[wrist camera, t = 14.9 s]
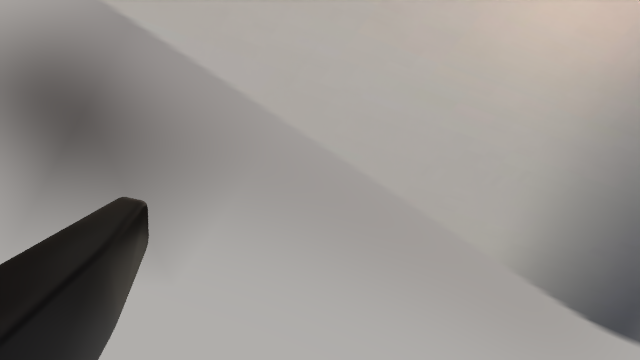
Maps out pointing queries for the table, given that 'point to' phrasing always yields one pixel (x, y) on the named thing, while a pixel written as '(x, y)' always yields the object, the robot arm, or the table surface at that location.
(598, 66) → the table surface
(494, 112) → the table surface
